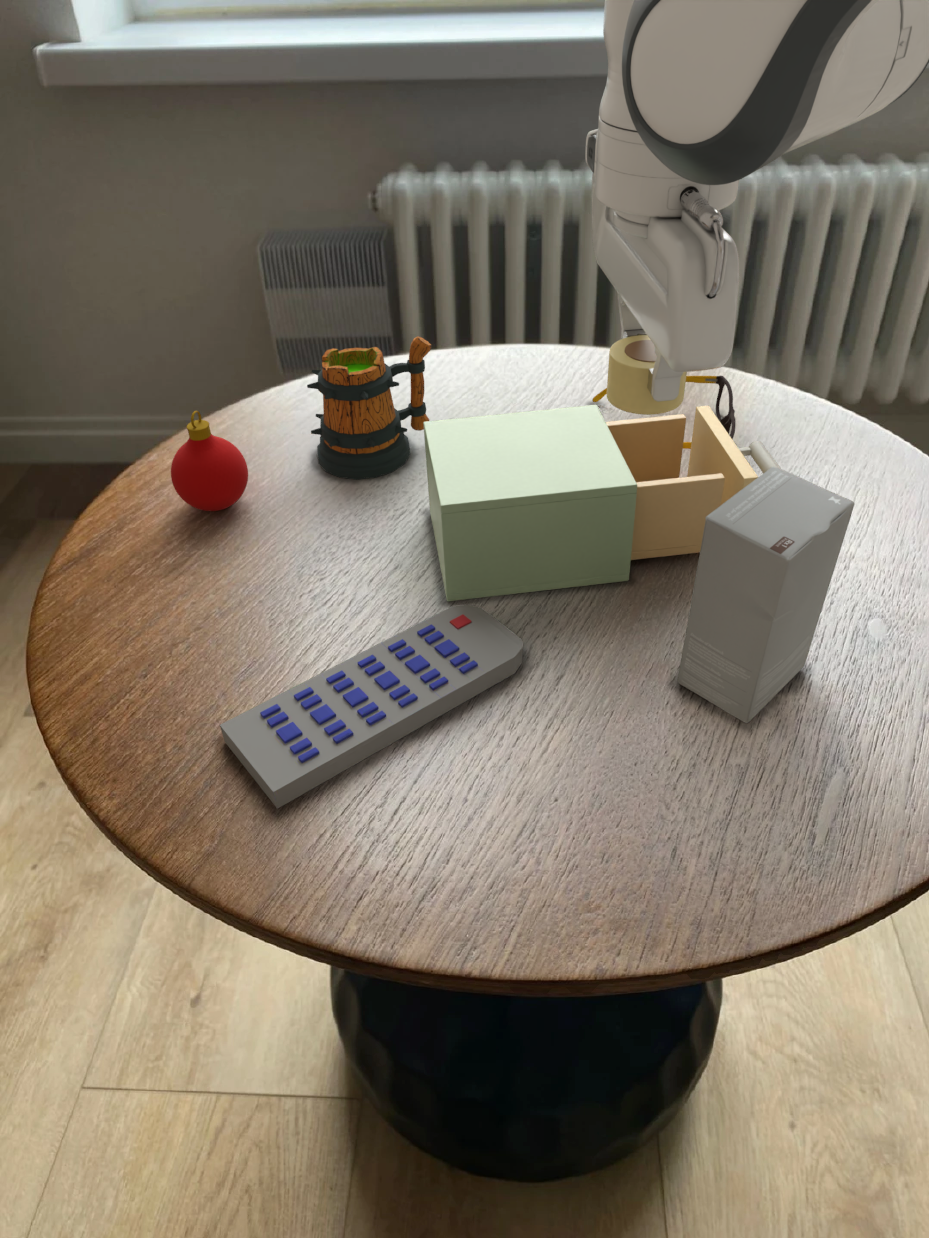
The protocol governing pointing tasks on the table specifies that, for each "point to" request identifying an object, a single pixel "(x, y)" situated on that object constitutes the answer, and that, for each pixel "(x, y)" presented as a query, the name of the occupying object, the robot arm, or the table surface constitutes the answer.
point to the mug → (366, 410)
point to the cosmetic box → (760, 589)
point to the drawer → (681, 504)
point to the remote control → (371, 700)
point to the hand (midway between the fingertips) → (647, 373)
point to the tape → (636, 377)
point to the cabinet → (529, 502)
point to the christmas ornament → (208, 469)
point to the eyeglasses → (729, 417)
